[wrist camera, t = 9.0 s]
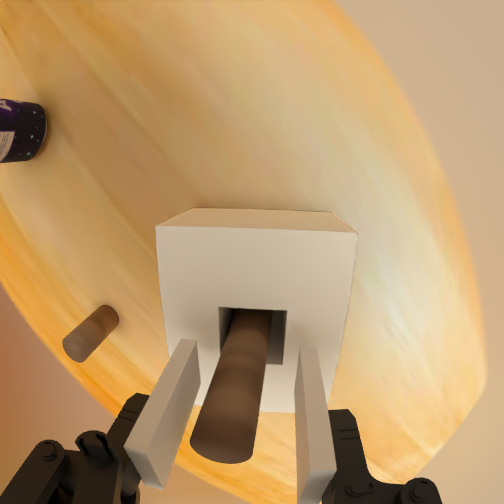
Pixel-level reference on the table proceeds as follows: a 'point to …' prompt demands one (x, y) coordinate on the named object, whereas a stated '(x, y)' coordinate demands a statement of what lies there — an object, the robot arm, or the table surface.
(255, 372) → the long pin
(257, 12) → the table surface
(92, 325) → the short pin
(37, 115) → the beverage can
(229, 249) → the hole block
